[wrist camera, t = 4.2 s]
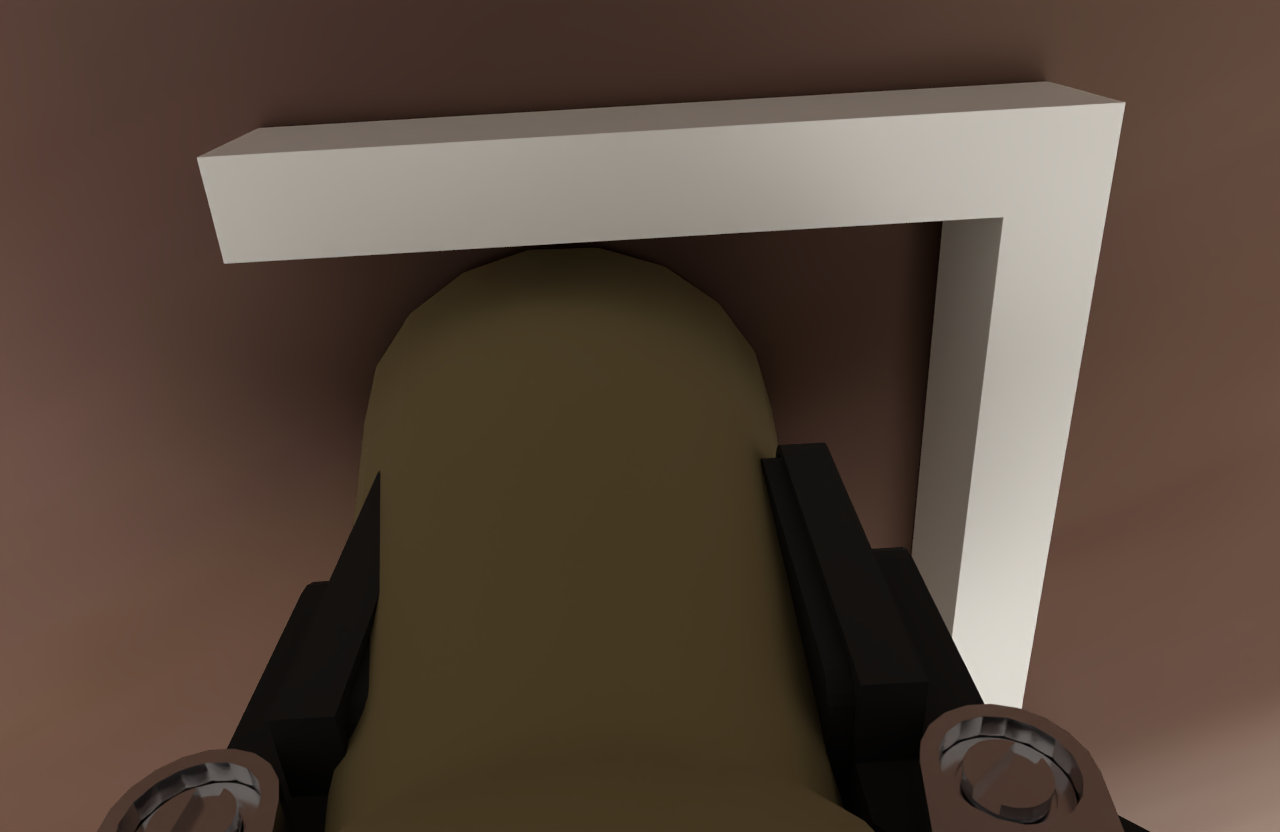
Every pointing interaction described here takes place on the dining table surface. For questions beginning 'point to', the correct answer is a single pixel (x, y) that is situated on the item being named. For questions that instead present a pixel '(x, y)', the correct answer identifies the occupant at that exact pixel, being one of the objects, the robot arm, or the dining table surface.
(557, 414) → the olive rounded piece
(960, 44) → the dining table surface
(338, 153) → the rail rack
